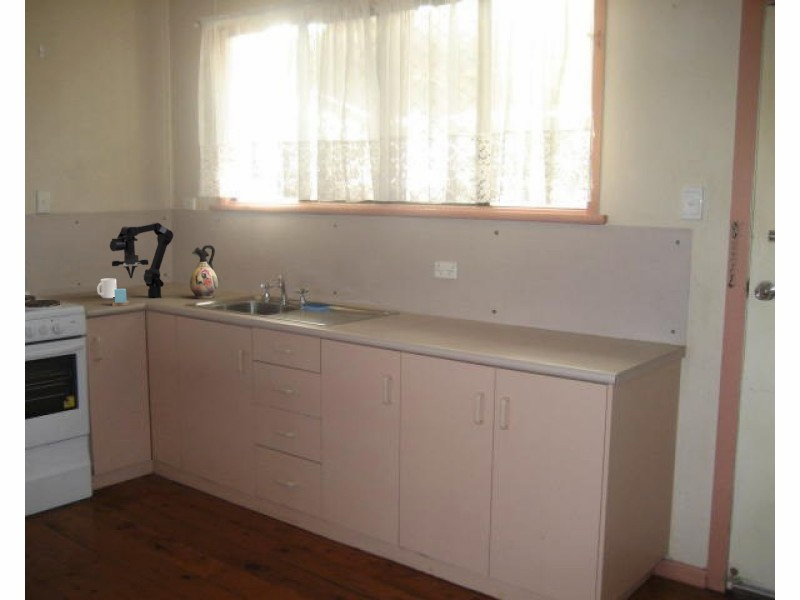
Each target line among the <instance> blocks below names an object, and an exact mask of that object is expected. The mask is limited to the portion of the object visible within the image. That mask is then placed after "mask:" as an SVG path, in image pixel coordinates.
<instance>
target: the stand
mask: <svg viewBox="0 0 800 600" xmlns="http://www.w3.org/2000/svg"><path fill="white" fill-rule="evenodd" d="M120 306H126V307H127V306H130V301H129V300H126V302H122V303H115V300H112V307H120Z"/></svg>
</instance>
